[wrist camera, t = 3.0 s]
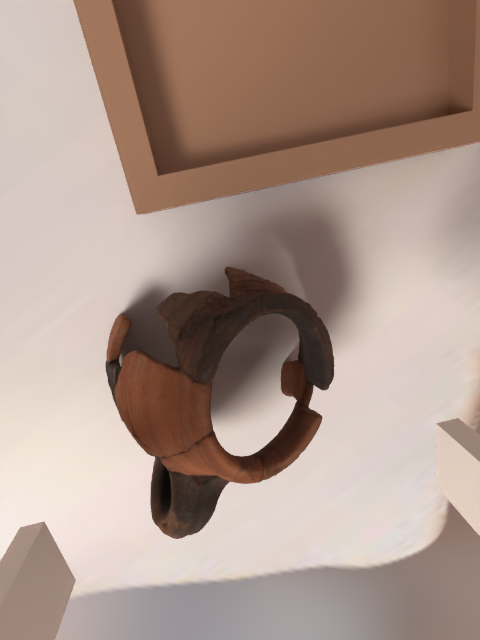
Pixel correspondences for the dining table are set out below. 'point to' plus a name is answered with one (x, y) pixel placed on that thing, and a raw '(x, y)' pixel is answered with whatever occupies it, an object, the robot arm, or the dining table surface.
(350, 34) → the serving tray
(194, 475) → the pottery mug
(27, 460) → the dining table surface
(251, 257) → the dining table surface
